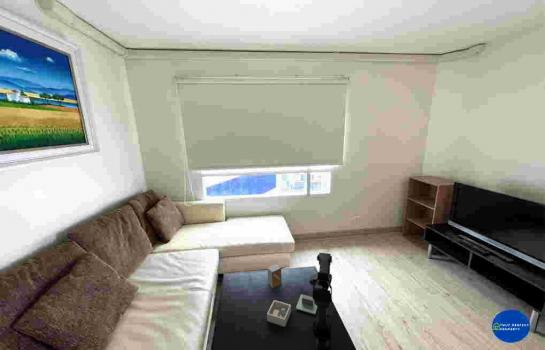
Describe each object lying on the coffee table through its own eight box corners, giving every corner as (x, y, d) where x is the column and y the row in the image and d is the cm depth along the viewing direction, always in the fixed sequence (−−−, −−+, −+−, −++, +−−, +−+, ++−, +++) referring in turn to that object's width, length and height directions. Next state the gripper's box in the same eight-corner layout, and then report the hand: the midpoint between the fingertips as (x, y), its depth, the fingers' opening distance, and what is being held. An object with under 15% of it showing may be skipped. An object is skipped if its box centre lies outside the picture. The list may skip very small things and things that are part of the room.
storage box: (285, 327, 120) (284, 319, 119) (267, 321, 124) (266, 313, 123) (290, 311, 130) (290, 304, 129) (274, 306, 134) (274, 300, 133)
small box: (272, 288, 150) (271, 272, 147) (267, 283, 155) (267, 267, 153) (281, 283, 154) (281, 267, 152) (276, 279, 160) (276, 263, 157)
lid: (315, 316, 127) (315, 307, 126) (295, 310, 131) (295, 302, 130) (319, 301, 138) (319, 293, 136) (301, 296, 142) (300, 288, 141)
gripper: (313, 261, 132) (313, 283, 135) (306, 281, 115) (306, 306, 118) (332, 265, 127) (332, 288, 130) (327, 286, 110) (327, 311, 114)
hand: (324, 297), depth 123 cm, fingers open, 9 cm apart
